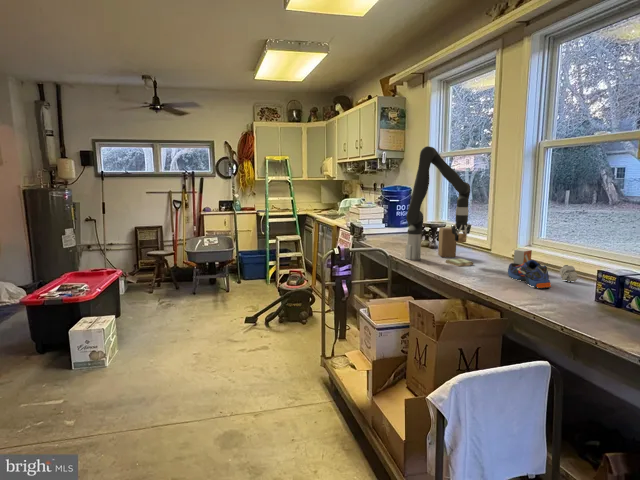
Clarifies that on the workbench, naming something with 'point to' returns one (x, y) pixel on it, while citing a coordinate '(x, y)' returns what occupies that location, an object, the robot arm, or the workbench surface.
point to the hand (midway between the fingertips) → (460, 240)
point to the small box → (522, 256)
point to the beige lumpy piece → (568, 273)
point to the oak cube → (462, 237)
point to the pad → (459, 262)
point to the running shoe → (530, 273)
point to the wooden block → (446, 242)
